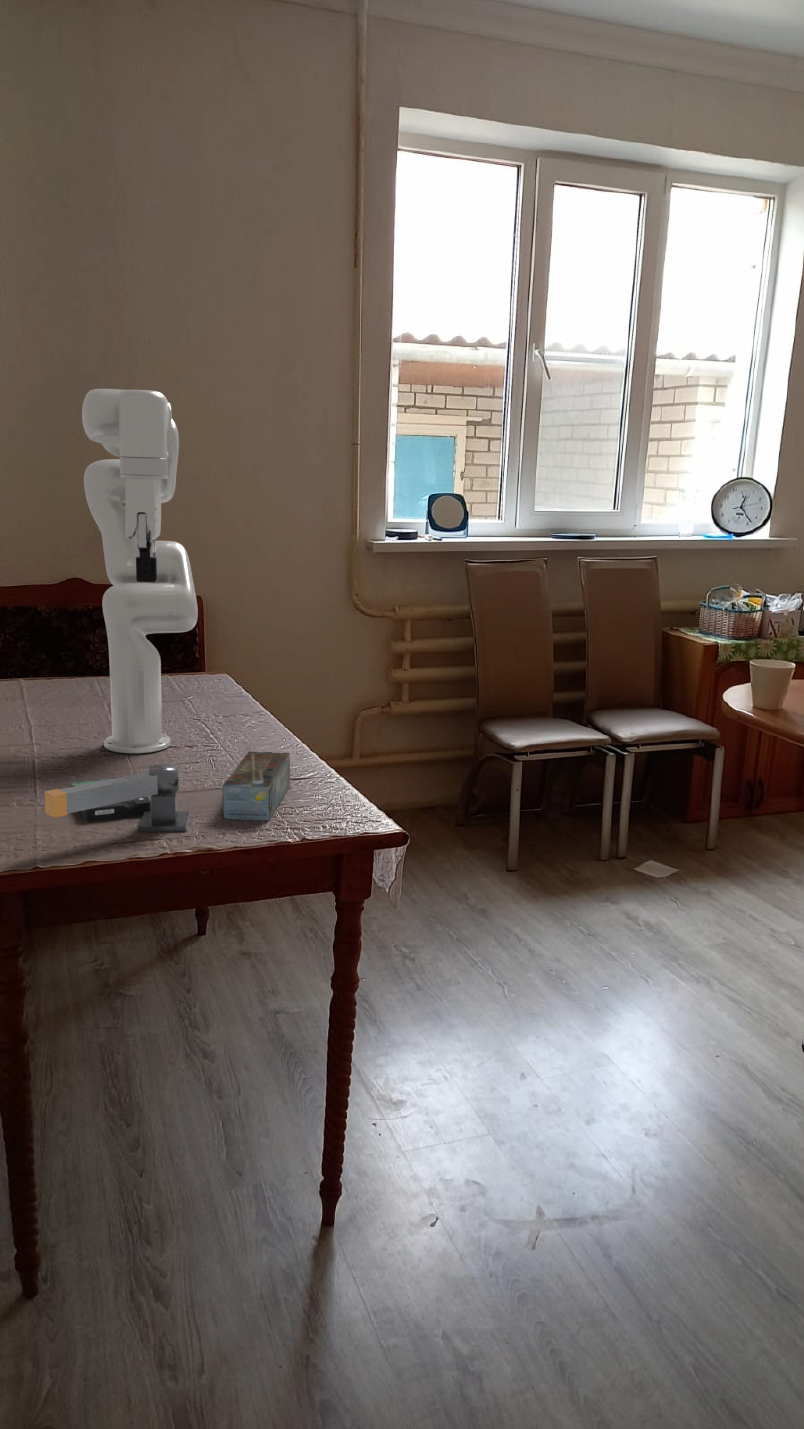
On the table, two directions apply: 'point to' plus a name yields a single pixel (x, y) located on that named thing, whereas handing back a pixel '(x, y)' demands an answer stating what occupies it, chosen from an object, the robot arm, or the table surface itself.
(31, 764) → the table surface
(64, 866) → the table surface
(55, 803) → the swing bar
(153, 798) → the grey pedestal base
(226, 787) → the beverage carton
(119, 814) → the disk drive
